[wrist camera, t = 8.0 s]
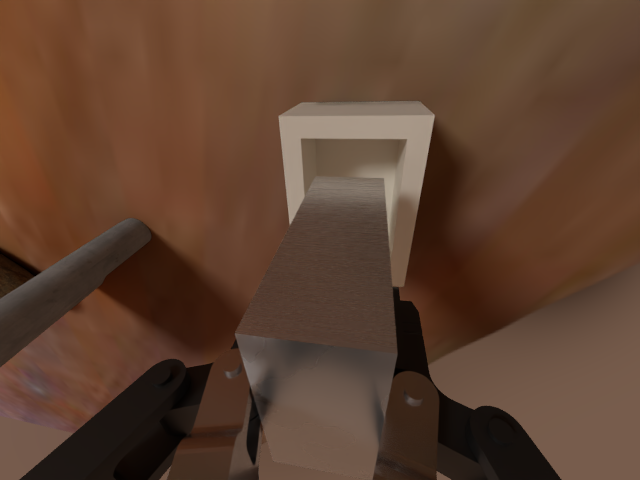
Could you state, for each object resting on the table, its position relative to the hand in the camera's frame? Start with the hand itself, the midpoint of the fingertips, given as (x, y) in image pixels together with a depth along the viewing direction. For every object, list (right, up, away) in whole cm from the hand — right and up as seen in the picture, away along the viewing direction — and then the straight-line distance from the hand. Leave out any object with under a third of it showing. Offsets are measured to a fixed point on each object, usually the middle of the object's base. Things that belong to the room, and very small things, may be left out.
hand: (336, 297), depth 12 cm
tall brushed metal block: (+1, +3, +4) cm, 5 cm away
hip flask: (-26, +1, +22) cm, 34 cm away
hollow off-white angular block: (+2, +7, +11) cm, 14 cm away
